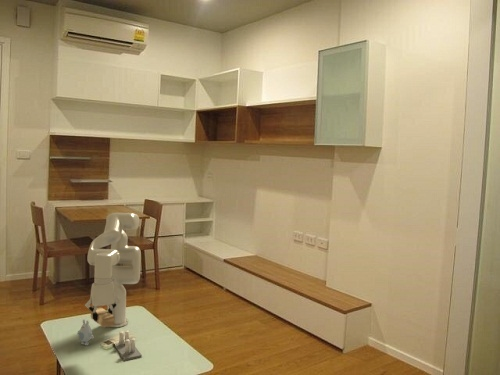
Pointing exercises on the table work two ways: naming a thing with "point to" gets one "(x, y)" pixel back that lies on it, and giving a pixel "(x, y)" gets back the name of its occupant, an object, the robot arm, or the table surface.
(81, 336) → the toy figure
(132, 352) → the peg stand
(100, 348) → the table surface
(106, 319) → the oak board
